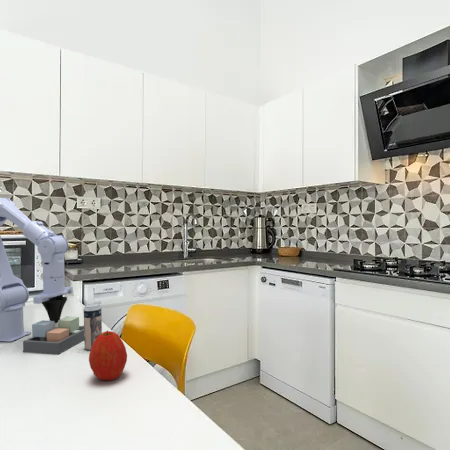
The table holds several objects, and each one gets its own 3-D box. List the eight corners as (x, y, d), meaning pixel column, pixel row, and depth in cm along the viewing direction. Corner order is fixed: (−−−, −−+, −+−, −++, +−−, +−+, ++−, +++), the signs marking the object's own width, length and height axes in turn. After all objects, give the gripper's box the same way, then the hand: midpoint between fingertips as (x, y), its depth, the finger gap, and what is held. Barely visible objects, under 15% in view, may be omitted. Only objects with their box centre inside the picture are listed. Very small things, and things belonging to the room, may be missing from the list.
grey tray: (23, 352, 95) (22, 340, 95) (59, 334, 110) (59, 323, 110) (58, 354, 93) (58, 342, 93) (91, 336, 108) (90, 325, 108)
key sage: (58, 331, 101) (58, 320, 101) (67, 327, 105) (67, 316, 105) (70, 332, 100) (70, 320, 100) (79, 328, 104) (78, 317, 104)
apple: (88, 373, 81) (87, 327, 81) (125, 366, 85) (124, 322, 84) (90, 388, 74) (88, 338, 74) (129, 380, 77) (128, 332, 77)
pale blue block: (32, 336, 97) (32, 324, 97) (42, 332, 101) (42, 320, 101) (44, 337, 96) (44, 325, 96) (54, 332, 100) (54, 321, 100)
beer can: (96, 351, 95) (95, 307, 95) (80, 350, 96) (79, 307, 96) (105, 345, 100) (104, 303, 99) (90, 344, 101) (89, 302, 100)
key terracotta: (46, 344, 96) (46, 332, 96) (56, 339, 100) (56, 328, 100) (59, 345, 95) (59, 333, 95) (69, 340, 99) (68, 328, 99)
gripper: (48, 281, 95) (49, 330, 96) (80, 273, 110) (81, 316, 110) (26, 280, 97) (27, 329, 97) (61, 272, 111) (61, 315, 111)
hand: (54, 322), depth 103 cm, fingers closed
